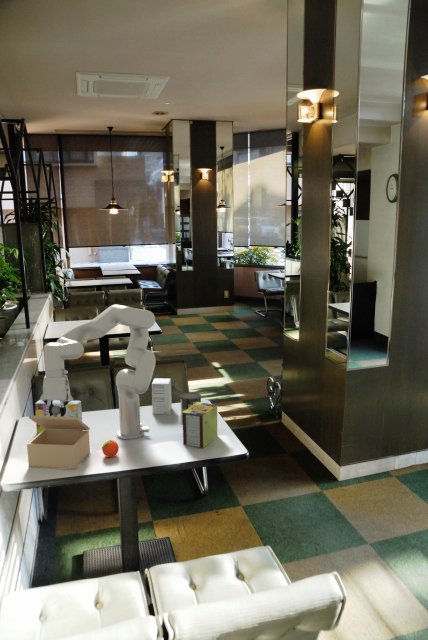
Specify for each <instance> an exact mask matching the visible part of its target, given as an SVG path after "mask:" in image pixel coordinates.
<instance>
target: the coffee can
mask: <svg viewBox="0 0 428 640" xmlns="http://www.w3.org/2000/svg"><path fill="white" fill-rule="evenodd" d="M197 402H202V394H201V393H198V392H195V391H194V392H192V391H191V392H190V391H189V392H183V393H181V394H180V423H181V425H183V412H184V411H185V410H187V409H188V408H189V407H191V406H192V405H194V404H195V403H197Z"/></svg>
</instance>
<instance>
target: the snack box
mask: <svg viewBox="0 0 428 640" xmlns="http://www.w3.org/2000/svg"><path fill="white" fill-rule="evenodd" d="M67 400H68V399H66V401H67ZM53 405H54V406H55V405H59V406H60V407H61V403H60V400H53ZM34 409H35V416H50V414H49V408H48V407H47V405H46V404H45V403H44V401H42V400H40V399H38V400H37V401H36V402H35V403H34ZM82 410H83V409H82V400H72V401H71V402H69V403H68V404H67V405H66V414H65V415H64V416H63V417H75V418H78V419H79V420H80V421H82V422H83V413H82V412H83V411H82ZM53 416H54V414H53V415H52V416H50V417H53ZM57 417H61V414H58V415H57ZM35 424H36V432H37V433H38V434H39V433H41V432H42V431H43V430H44V429H46V428H43V427H42V426H40V425H39V424H37V423H35ZM60 430H69V429H60Z"/></svg>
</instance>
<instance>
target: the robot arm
mask: <svg viewBox="0 0 428 640" xmlns="http://www.w3.org/2000/svg"><path fill="white" fill-rule="evenodd" d="M155 323H156V316H155V315H154V313H153V312H152V311H150V310H147V309H141V308H136V307H131V306H127V305H121V304H112V305H110V306H109V307H107V308H106V309H105V310H103V311H102V312H101V313H100V314H97V316H95V317H94V318H92V319H91V320H90V321H88V322H85V323H83V324H80V325H79V326H76V327H74V328H72V329H70V330H69V331H67V332H65V333H64V334H63V335H61V336H60V337H59V338H58V339H57V340H56V342H55V341H54V342H49V343H46V344H45V345H44V346H43V352H44V353H43V354H44V355H43V356H44V371H45V375H44V376H43V383H42V394H41V396H40V397H39V400H42V401H44V403H45V404H46V405H47V407H48V408H49V414H50V416H52V415H53V413H52V407H53V406H54V405H53V400H60V403H61V408H60V414H61V417H63V416H64V415H65V414H66V405H67V404H68V403H69V402H71V401H74V397H73V396H72V395H71V389H70V382H69V379H68V375H67V374H68V370H66V368H65V360H77V359H79V358H80V357H82V356H83V354H84V352H85V351H84V350H85V348H84V345H83V344H82V343H83V342H86V341H90V340H95V339H97V340H98V339H101V338H102V337H104V336H106V334H108V333H110V331H111V330H114V328H116V327H118V326H119V325H120V326H125V327H128V328H129V331H130V335H129V342H128V346H127V348H126V352H125V356H124V363H125V364H126V365H128V366H129V367H132V368H134V369H135V370H133V369H131V368H124V369H120V370H119V371H118V372H117V374H116V376H115V385H116V389H117V395H118V412H119V413H118V414H119V415H118V417H119V430H117V432H116V436H117V438H119V439H123V440H134V439H139V438H141V437H143V436H144V433H149V432H150V428H149V427H148V426H143V423H141V411H140V410H141V407H140V395H142V394H144V393H146V392H147V391H148V389H149V387H150V385H151V382H152V378H153V375H154V371H155V368H156V361H157V360H156V355H155V353H154V352H153V351H152V350H149V349H148V343H149V339H150V337H149V335H150V334H149V330H148V329H151V328H152V327H153V326H154V325H155ZM66 400H67V401H66Z"/></svg>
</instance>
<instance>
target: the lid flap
mask: <svg viewBox="0 0 428 640" xmlns="http://www.w3.org/2000/svg"><path fill="white" fill-rule="evenodd" d="M60 408H61V407H60V406H59V405H55V406H53V407H52V413H53V414H54V416H53V417H50V416H36V415H29V416H28V419H30V420H31V421H33V422H34V423H35V424H36V423H37V424H39V425H40V426H42V427H43V428H46V429H69V430H83V431H90V427H89V426H88V425H87V424H85V423H84V422H83V420H82V421H80V420H79V419H78V418H75V417H57V415H58V414H60Z"/></svg>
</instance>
